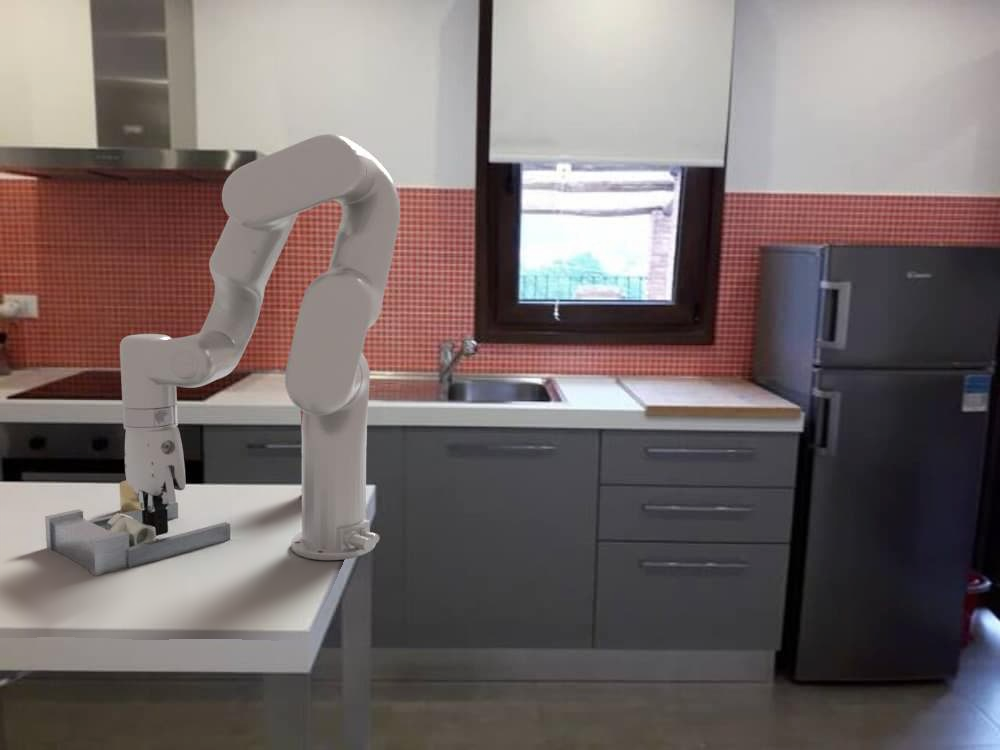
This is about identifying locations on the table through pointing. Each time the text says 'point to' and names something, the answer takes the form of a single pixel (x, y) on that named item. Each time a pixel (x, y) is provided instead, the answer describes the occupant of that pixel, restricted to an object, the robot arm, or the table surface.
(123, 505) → the cylinder
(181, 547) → the pipe jig
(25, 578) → the table surface
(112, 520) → the pipe fitting
